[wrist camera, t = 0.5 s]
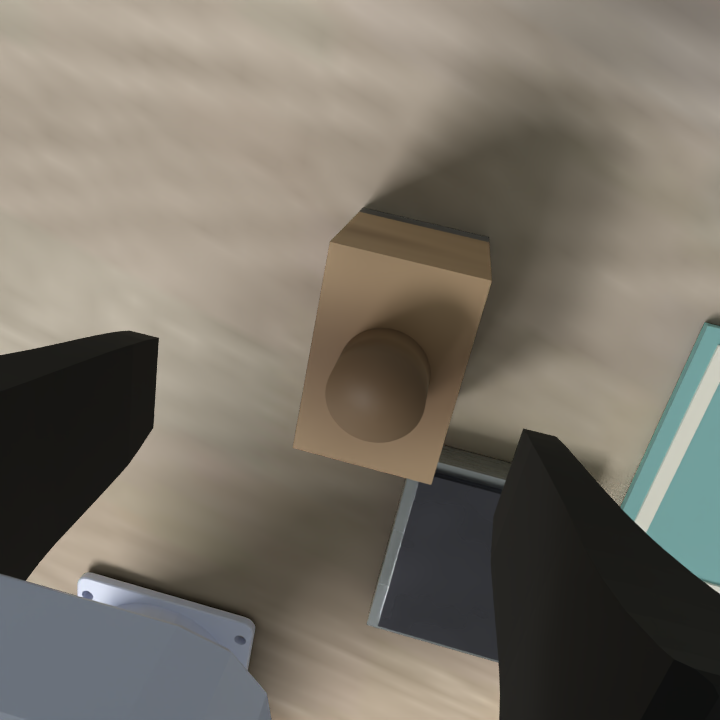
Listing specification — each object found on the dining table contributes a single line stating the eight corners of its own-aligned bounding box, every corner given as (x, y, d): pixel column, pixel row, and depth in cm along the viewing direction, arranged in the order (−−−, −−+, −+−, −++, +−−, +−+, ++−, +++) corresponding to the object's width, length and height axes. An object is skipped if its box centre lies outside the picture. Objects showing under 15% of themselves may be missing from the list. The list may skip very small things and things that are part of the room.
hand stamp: (440, 403, 22) (427, 520, 16) (329, 375, 22) (276, 479, 16) (488, 236, 20) (493, 301, 14) (363, 207, 20) (314, 257, 14)
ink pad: (516, 643, 26) (518, 674, 24) (371, 602, 26) (365, 630, 25) (583, 481, 22) (590, 507, 21) (416, 438, 23) (412, 460, 21)
